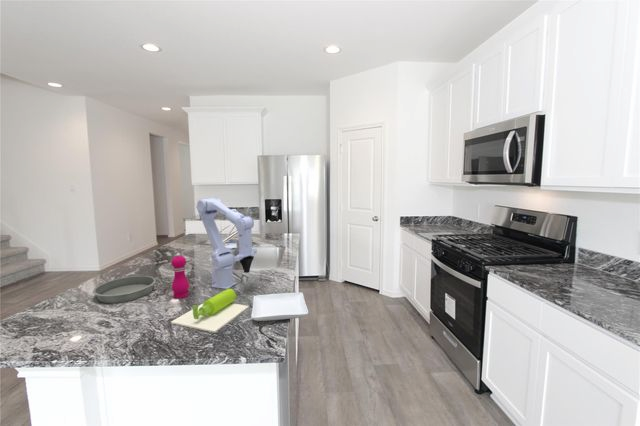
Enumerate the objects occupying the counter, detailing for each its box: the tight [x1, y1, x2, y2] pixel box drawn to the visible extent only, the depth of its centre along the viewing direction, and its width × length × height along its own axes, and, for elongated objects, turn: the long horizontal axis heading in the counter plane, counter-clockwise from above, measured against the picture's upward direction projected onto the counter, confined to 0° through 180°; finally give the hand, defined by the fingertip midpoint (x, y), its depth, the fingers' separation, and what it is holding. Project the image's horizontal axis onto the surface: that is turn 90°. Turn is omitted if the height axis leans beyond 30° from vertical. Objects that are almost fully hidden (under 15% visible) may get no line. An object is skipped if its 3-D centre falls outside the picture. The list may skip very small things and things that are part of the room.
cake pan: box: [92, 275, 157, 304], centre depth 141 cm, size 25×25×4 cm
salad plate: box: [250, 291, 309, 322], centre depth 122 cm, size 21×21×3 cm
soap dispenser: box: [192, 287, 237, 319], centre depth 120 cm, size 6×7×20 cm
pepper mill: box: [170, 252, 190, 299], centre depth 136 cm, size 7×7×20 cm
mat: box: [170, 302, 250, 334], centre depth 119 cm, size 20×21×1 cm
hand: (246, 272), depth 140 cm, fingers closed
